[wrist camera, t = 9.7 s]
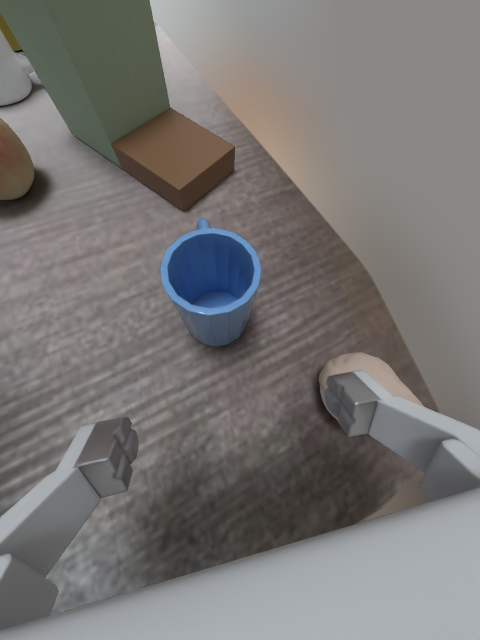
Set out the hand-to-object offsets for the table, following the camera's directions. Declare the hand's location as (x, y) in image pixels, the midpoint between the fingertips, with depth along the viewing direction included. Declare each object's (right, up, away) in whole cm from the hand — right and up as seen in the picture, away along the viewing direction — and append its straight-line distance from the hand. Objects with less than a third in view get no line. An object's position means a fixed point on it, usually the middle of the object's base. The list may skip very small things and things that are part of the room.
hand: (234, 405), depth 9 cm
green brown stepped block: (-12, +27, +20) cm, 36 cm away
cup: (-2, +5, +14) cm, 15 cm away
